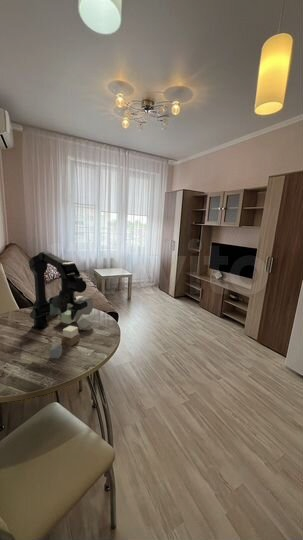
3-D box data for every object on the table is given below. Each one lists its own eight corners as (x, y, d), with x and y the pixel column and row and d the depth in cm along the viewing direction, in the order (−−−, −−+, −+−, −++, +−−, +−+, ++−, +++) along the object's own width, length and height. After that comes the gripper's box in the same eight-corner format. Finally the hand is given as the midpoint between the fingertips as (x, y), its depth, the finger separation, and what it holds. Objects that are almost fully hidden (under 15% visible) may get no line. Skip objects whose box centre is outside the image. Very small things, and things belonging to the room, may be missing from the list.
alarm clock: (81, 310, 151) (81, 292, 148) (93, 313, 148) (93, 294, 145) (58, 322, 132) (58, 301, 129) (71, 325, 129) (71, 304, 126)
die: (84, 335, 120) (95, 319, 121) (71, 325, 120) (82, 310, 122) (88, 333, 128) (99, 318, 130) (76, 324, 129) (86, 310, 130)
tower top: (63, 336, 109) (62, 329, 109) (70, 331, 114) (69, 325, 113) (71, 338, 108) (71, 331, 107) (78, 333, 112) (77, 327, 111)
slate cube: (49, 358, 98) (49, 350, 97) (53, 353, 102) (53, 345, 101) (58, 358, 98) (58, 350, 97) (62, 353, 102) (62, 345, 101)
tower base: (61, 343, 110) (61, 336, 109) (70, 338, 115) (69, 331, 115) (71, 346, 108) (71, 339, 107) (79, 340, 113) (79, 333, 113)
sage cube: (61, 322, 107) (61, 313, 106) (68, 318, 111) (67, 310, 110) (69, 324, 106) (68, 315, 105) (75, 320, 110) (75, 311, 109)
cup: (43, 315, 140) (43, 300, 138) (53, 311, 147) (52, 297, 145) (53, 318, 137) (52, 302, 135) (62, 313, 144) (62, 299, 142)
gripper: (39, 289, 101) (40, 321, 104) (71, 295, 95) (72, 329, 98) (57, 284, 111) (58, 313, 114) (88, 289, 105) (88, 320, 108)
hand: (68, 318), depth 108 cm, fingers closed on sage cube, 4 cm apart
